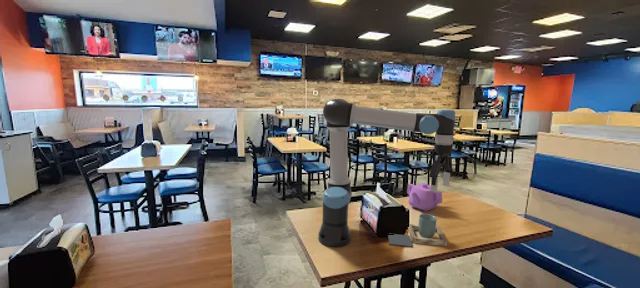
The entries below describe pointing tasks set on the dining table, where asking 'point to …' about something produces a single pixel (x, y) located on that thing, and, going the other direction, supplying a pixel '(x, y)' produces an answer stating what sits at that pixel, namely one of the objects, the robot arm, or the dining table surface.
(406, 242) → the coaster
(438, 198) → the teapot
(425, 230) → the cup
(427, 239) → the holder
